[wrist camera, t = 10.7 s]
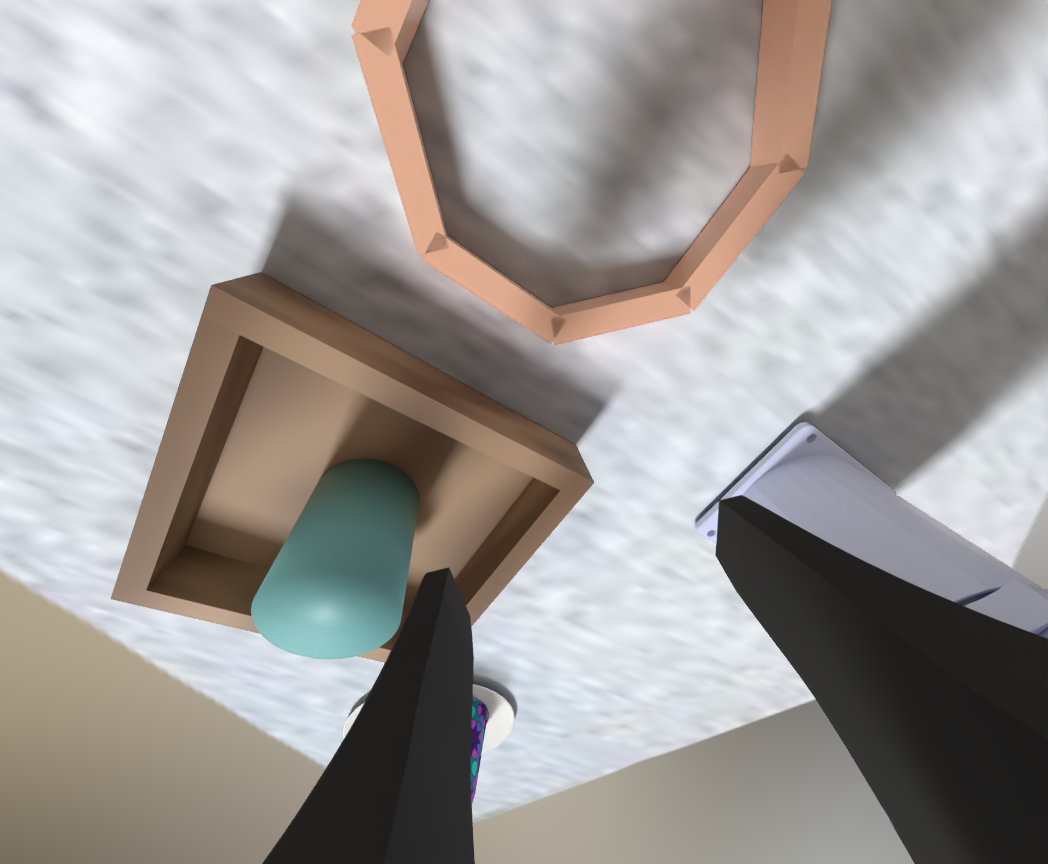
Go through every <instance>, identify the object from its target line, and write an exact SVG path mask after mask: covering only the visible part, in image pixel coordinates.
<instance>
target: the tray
mask: <svg viewBox="0 0 1048 864" xmlns="http://www.w3.org/2000/svg"><path fill="white" fill-rule="evenodd" d="M362 458H363V459H375V460H380V461H384V462H386V463H389V464H391V465H393V466H395V467H397V468H399V469H400V470H402V471H403V472H404V473H405V474H407V475H408V476H409V477H410V479H411V480H412V481H413V483H414V484H415V486H416V488H417V491H418V494H419V508H418V515H417V521H416V528H415V534H414V540H413V547H412V553H411V560H410V566H409V572H408V579H407V585H406V591H405V598H404V604H403V611H402V617H401V622H400V625H399V628H398V630H397V631H396V633H395V634H394V635H393V637H392V638H391V639H390V640H389V641H387V642H386V643H385V644H383V645H382V646H380V647H379V648H377V649H375V650H373V651H370V652H368V653H365V654H362V655H359V657H363V658H367V659H372V660H376V661H380V662H386V660H387V658H388V656H389V654H390V652H391V650H392V647H393V645H394V643H395V641H396V639H397V637H398V635H399V633H400V630H401V628H402V626H403V624H404V621H405V619H406V617H407V615H408V612H409V610H410V608H411V605H412V603H413V601H414V598H415V596H416V593H417V591H418V589H419V586H420V584H421V581H422V579H423V577H424V575H425V574H426V573H428V572H432V571H436V570H440V569H444V568H448V567H449V568H450V571H451V573H452V575H453V578H454V580H455V582H456V584H457V587H458V589H459V591H460V594H461V596H462V598H463V601H464V603H465V605H466V607H467V610H468V612H469V614H470V618H471V626H472V625H473V624H474V623H475V622H476V621H477V619H478V618H479V617H480V616H481V615H482V614H483V612H484V611H485V610H486V609H487V608H488V606H489V605H490V604H491V603H492V602H493V601H494V599H495V598H496V597H497V596H498V595H499V594H500V592H501V591H502V590H503V589H504V588H505V587H506V585H507V584H508V583H509V582H510V581H511V580H512V578H513V577H514V576H515V575H516V574H517V572H518V571H519V570H520V569H521V568H522V567H523V565H524V564H525V563H526V562H527V561H528V560H529V558H530V557H531V556H532V555H533V554H534V553H535V551H536V550H537V549H538V548H539V547H540V545H541V544H542V543H543V542H544V541H545V540H546V538H547V537H548V536H549V535H550V534H551V533H552V531H553V530H554V529H555V528H556V527H557V526H558V524H559V523H560V522H561V521H562V520H563V519H564V517H565V516H566V515H567V514H568V513H569V511H570V510H571V509H572V508H573V507H574V506H575V504H576V503H577V502H578V501H579V500H580V499H581V497H582V496H583V495H584V494H585V493H586V492H587V490H588V489H589V488H590V487H591V486H592V484H593V483H594V481H593V479H592V477H591V475H590V473H589V471H588V469H587V467H586V465H585V463H584V461H583V459H582V457H581V454H580V452H579V450H578V448H577V446H576V445H575V444H573V443H571V442H569V441H567V440H565V439H564V438H562V437H560V436H558V435H556V434H555V433H553V432H551V431H549V430H547V429H545V428H544V427H542V426H540V425H538V424H536V423H534V422H533V421H531V420H529V419H527V418H525V417H524V416H522V415H520V414H518V413H516V412H514V411H513V410H511V409H509V408H507V407H505V406H504V405H502V404H500V403H498V402H496V401H494V400H493V399H491V398H489V397H487V396H485V395H483V394H482V393H480V392H478V391H476V390H474V389H473V388H471V387H469V386H467V385H465V384H463V383H462V382H460V381H458V380H456V379H454V378H453V377H451V376H449V375H447V374H445V373H443V372H442V371H440V370H438V369H436V368H434V367H432V366H431V365H429V364H427V363H425V362H423V361H422V360H420V359H418V358H416V357H414V356H412V355H411V354H409V353H407V352H405V351H403V350H401V349H400V348H398V347H396V346H394V345H392V344H391V343H389V342H387V341H385V340H383V339H381V338H380V337H378V336H376V335H374V334H372V333H371V332H369V331H367V330H365V329H363V328H361V327H360V326H358V325H356V324H354V323H352V322H350V321H349V320H347V319H345V318H343V317H341V316H340V315H338V314H336V313H334V312H332V311H330V310H329V309H327V308H325V307H323V306H321V305H319V304H318V303H316V302H314V301H312V300H310V299H309V298H307V297H305V296H303V295H301V294H299V293H298V292H296V291H294V290H292V289H290V288H289V287H287V286H285V285H283V284H281V283H279V282H278V281H276V280H274V279H272V278H270V277H268V276H267V275H265V274H263V273H261V272H260V273H256V274H252V275H249V276H245V277H241V278H237V279H233V280H229V281H225V282H222V283H218V284H214V285H211V288H210V291H209V294H208V297H207V300H206V303H205V306H204V310H203V313H202V316H201V319H200V322H199V325H198V328H197V331H196V335H195V338H194V341H193V344H192V347H191V350H190V353H189V356H188V360H187V363H186V366H185V369H184V372H183V375H182V378H181V381H180V384H179V388H178V391H177V394H176V397H175V400H174V403H173V406H172V409H171V413H170V416H169V419H168V422H167V425H166V428H165V431H164V434H163V437H162V441H161V444H160V447H159V450H158V453H157V456H156V459H155V462H154V466H153V469H152V472H151V475H150V478H149V481H148V484H147V487H146V491H145V494H144V497H143V500H142V503H141V506H140V509H139V512H138V515H137V519H136V522H135V525H134V528H133V531H132V534H131V537H130V540H129V544H128V547H127V550H126V553H125V556H124V559H123V562H122V565H121V568H120V572H119V575H118V578H117V581H116V584H115V587H114V590H113V593H112V597H111V599H113V600H117V601H122V602H126V603H130V604H135V605H139V606H143V607H148V608H152V609H156V610H161V611H165V612H169V613H173V614H178V615H182V616H186V617H191V618H195V619H199V620H204V621H208V622H212V623H217V624H221V625H225V626H229V627H234V628H238V629H242V630H247V631H251V632H255V633H260V632H259V631H258V630H257V628H256V627H255V625H254V623H253V620H252V616H251V607H252V602H253V600H254V597H255V595H256V593H257V592H258V590H259V588H260V586H261V584H262V583H263V581H264V579H265V577H266V575H267V574H268V572H269V570H270V568H271V566H272V565H273V563H274V561H275V559H276V557H277V556H278V554H279V552H280V550H281V548H282V547H283V545H284V543H285V541H286V539H287V537H288V536H289V534H290V532H291V530H292V528H293V527H294V525H295V523H296V521H297V519H298V518H299V516H300V514H301V512H302V510H303V509H304V507H305V505H306V503H307V501H308V500H309V498H310V496H311V494H312V492H313V491H314V489H315V487H316V485H317V483H318V481H319V480H320V478H321V477H322V475H323V474H324V473H325V472H326V471H327V470H329V469H330V468H331V467H333V466H335V465H337V464H339V463H341V462H344V461H347V460H352V459H362Z"/></svg>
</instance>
